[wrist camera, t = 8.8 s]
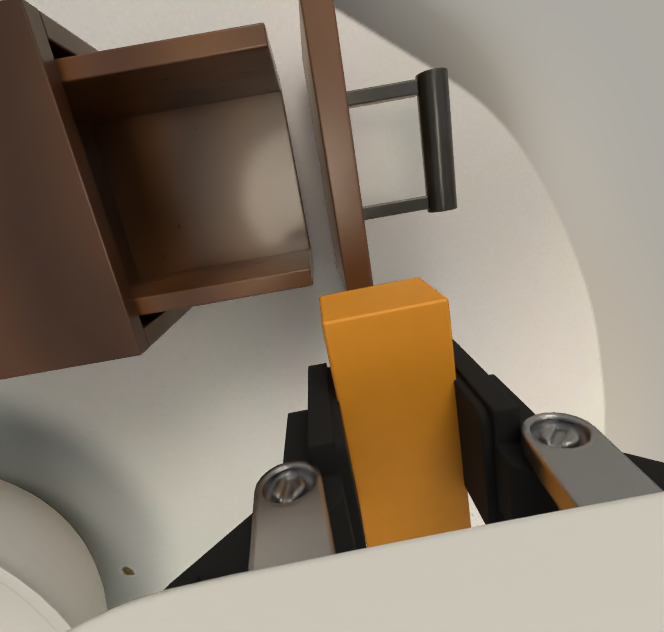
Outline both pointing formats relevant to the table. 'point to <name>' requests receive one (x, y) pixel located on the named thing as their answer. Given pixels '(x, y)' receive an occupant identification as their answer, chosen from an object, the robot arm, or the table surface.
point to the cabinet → (55, 218)
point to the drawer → (235, 160)
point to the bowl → (43, 568)
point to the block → (398, 407)
